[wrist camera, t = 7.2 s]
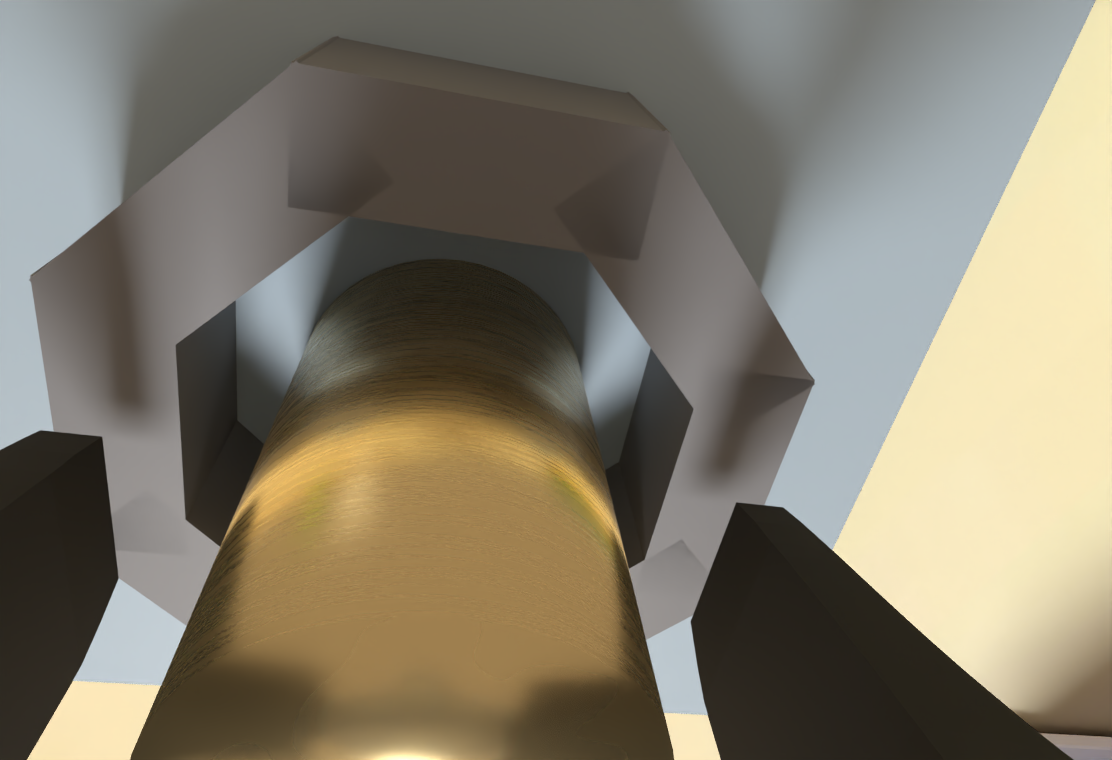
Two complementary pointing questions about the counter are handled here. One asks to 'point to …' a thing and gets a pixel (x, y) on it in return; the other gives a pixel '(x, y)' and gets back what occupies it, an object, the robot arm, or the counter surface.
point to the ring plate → (499, 239)
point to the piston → (421, 551)
